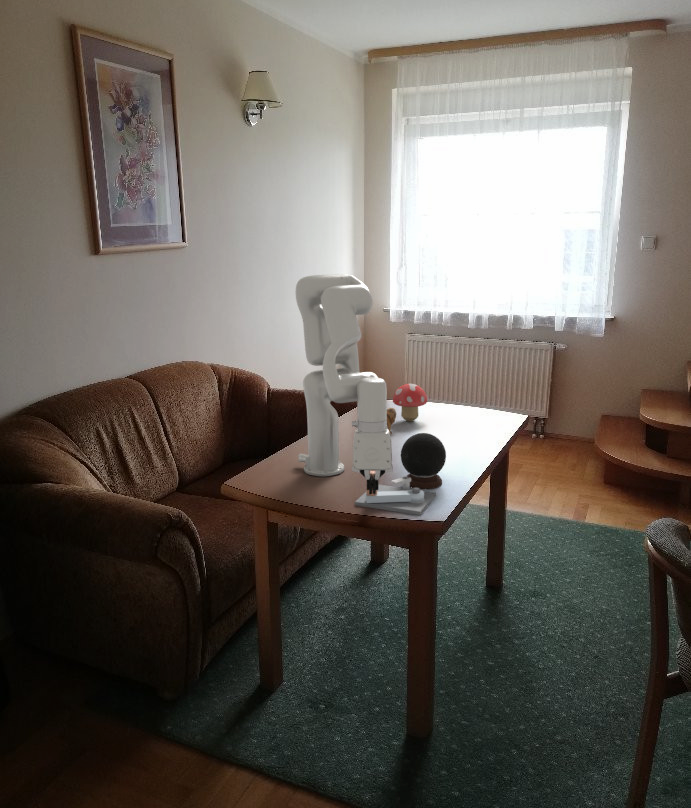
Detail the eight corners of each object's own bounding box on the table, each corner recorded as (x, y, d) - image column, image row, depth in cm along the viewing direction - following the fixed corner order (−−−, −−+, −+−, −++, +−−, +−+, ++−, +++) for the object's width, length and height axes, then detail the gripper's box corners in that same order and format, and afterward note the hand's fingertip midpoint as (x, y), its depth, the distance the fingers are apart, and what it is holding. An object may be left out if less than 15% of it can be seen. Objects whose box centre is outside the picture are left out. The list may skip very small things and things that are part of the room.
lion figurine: (390, 428, 255) (390, 405, 253) (399, 431, 251) (399, 408, 249) (359, 435, 247) (359, 412, 245) (368, 439, 243) (368, 415, 241)
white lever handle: (422, 495, 186) (422, 468, 184) (425, 502, 182) (425, 473, 180) (365, 497, 185) (365, 470, 183) (366, 504, 181) (366, 475, 179)
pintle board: (436, 495, 189) (436, 479, 188) (420, 515, 176) (420, 498, 175) (374, 487, 197) (374, 471, 195) (355, 505, 184) (354, 488, 183)
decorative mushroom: (428, 426, 258) (429, 387, 254) (393, 426, 258) (393, 388, 255) (425, 416, 271) (425, 380, 267) (391, 417, 271) (391, 380, 268)
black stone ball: (416, 472, 209) (417, 425, 205) (453, 481, 200) (455, 432, 197) (391, 484, 199) (391, 435, 195) (429, 494, 190) (430, 443, 187)
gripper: (341, 429, 172) (343, 497, 176) (401, 429, 171) (401, 498, 175) (344, 421, 179) (345, 487, 183) (401, 421, 178) (401, 487, 182)
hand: (372, 492), depth 179 cm, fingers closed
